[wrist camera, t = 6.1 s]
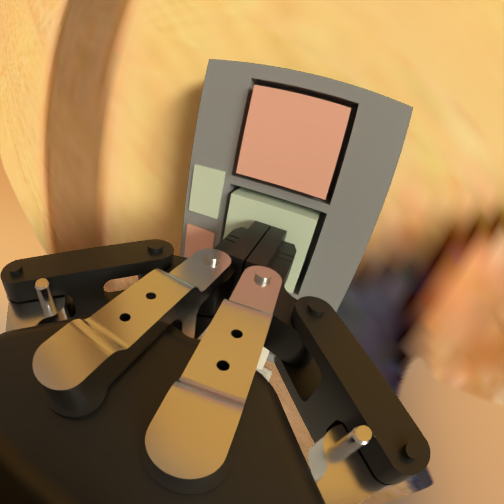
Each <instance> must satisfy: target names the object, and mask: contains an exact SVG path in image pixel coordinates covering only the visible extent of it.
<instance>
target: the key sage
mask: <svg viewBox="0 0 504 504" xmlns="http://www.w3.org/2000/svg"><path fill="white" fill-rule="evenodd" d="M319 215H320V211H318V210H315V209H312V208H309V207H306V206H303V205H300V204H297V203H294V202H290V201H287V200H284V199H281V198H278V197H274V196H271V195H268V194H265V193H261V192H258V191H255V190H251V189H248V188H244V187H240V188H239V189H237V190H236V191H234V192H233V193H231V198H230V203H229V209H228V214H227V220H226V226H225V231H224V237H223V239H224V238H225V237H226V236H227V235H228V234H229V233H230V232H231V231H232V230H233V229H236V228H239V227H244V228H247V229H248V228H249V227H250V226H251V225H252V224H253V223H254V222H255V221H259V222H262V223H265V224H268V225H271V226H274V227H277V228H280V229H283V230H286V231H287V234H286V238H285V241H286V242H289V243H291V244H294V245H295V248H296V250H297V252H296V255H295V258H294V261H293V264H292V267H291V270H290V273H289V276H288V279H287V281H286V284H285V286H284V287H285V289H286V291H287V292H290V293H293V291H294V288H295V285H296V283H297V280H298V277H299V274H300V271H301V269H302V266H303V263H304V260H305V257H306V254H307V251H308V248H309V245H310V242H311V239H312V236H313V233H314V230H315V227H316V224H317V221H318V218H319Z"/></svg>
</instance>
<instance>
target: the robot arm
mask: <svg viewBox="0 0 504 504" xmlns="http://www.w3.org/2000/svg"><path fill="white" fill-rule="evenodd" d="M286 234H287V231H286V230H283V229H280V228H277V227H274V226H271V225H268V224H265V223H262V222H259V221H255V222H254V223H253V224H252V225H251V226H250V227H249V228H248V229H247V228H244V227H239V228H236V229H233V230H232V231H231V232H230V233H229V234H228V235H227V236H226V237H225V238H224V239H223V240H222V241H221V242H220V243H219V244H218V245H217V246H216V247H215V248H214V249H202V250H199V251H197V252H196V253H194V254H193V255H192V256H190V257H189V258H186V257H180V256H174V255H173V252H174V249H173V246H172V245H171V244H170V243H168V242H166V241H163V240H145V241H138V242H130V243H123V244H116V245H109V246H102V247H95V248H88V249H82V250H75V251H69V252H62V253H56V254H50V255H44V256H38V257H32V258H26V259H20V260H15V261H13V262H11V263H9V264H8V265H6V266H5V267H4V268H3V270H2V272H1V280H2V282H3V285H4V288H5V291H6V293H7V298H8V301H9V305H8V314H7V324H6V332H4V333H2V334H0V504H358V503H360V502H361V501H363V500H365V499H366V498H368V497H370V496H371V495H373V494H375V493H377V492H379V491H382V490H384V489H387V488H389V487H391V486H393V485H396V484H398V483H400V482H402V481H404V480H406V479H408V478H410V477H412V476H414V475H416V474H418V473H420V472H422V471H423V470H424V469H425V468H426V466H427V465H428V462H429V459H430V448H429V445H428V442H427V440H426V439H425V438H424V436H423V434H422V433H421V431H420V430H419V428H418V427H417V426H416V424H415V422H414V421H413V419H412V418H411V416H410V415H409V413H408V412H407V411H406V409H405V408H404V406H403V405H402V403H401V402H400V400H399V399H398V397H397V396H396V395H395V393H394V392H393V390H392V389H391V387H390V386H389V385H388V383H387V382H386V380H385V379H384V378H383V376H382V375H381V373H380V372H379V370H378V369H377V368H376V366H375V365H374V363H373V362H372V361H371V359H370V358H369V357H368V355H367V354H366V352H365V351H364V350H363V348H362V347H361V346H360V344H359V343H358V341H357V340H356V339H355V337H354V336H353V335H352V333H351V332H350V331H349V329H348V328H347V326H346V325H345V324H344V322H343V321H342V320H341V318H340V317H339V316H338V314H337V313H336V312H335V310H334V309H333V308H332V307H331V305H330V304H328V303H327V302H326V301H324V300H322V299H320V298H317V297H313V296H305V297H301V298H299V299H298V300H297V299H296V298H294V297H293V296H291V295H290V294H289V293H288V292H287V291H286V289H285V287H284V286H285V284H286V281H287V279H288V276H289V273H290V270H291V267H292V264H293V261H294V258H295V255H296V252H297V250H296V248H295V245H294V244H291V243H289V242H286V241H285V238H286ZM135 275H138V279H139V281H137V282H136V283H134V284H133V285H132V286H130V287H129V288H128V289H126V290H121V291H115V292H105V291H104V289H103V287H104V284H105V283H106V282H107V281H109V280H111V279H117V278H123V277H129V276H135ZM263 347H265V348H266V349H267V350H269V351H270V352H272V353H273V354H274V362H275V365H276V367H277V369H278V371H279V373H280V375H281V377H282V379H283V381H284V383H285V385H286V387H287V389H288V391H289V393H290V395H291V397H292V399H293V401H294V403H295V405H296V407H297V409H298V411H299V413H300V415H301V417H302V419H303V421H304V423H305V425H306V427H307V429H308V431H309V433H310V435H311V437H312V439H313V441H314V443H315V444H314V445H313V446H312V447H311V449H310V451H309V454H308V461H309V464H310V468H311V470H310V469H309V466H308V464H307V462H306V460H305V458H304V455H303V453H302V451H301V449H300V446H299V444H298V442H297V440H296V437H295V435H294V433H293V430H292V428H291V426H290V423H289V421H288V419H287V416H286V414H285V412H284V409H283V407H282V405H281V402H280V400H279V398H278V396H277V393H276V392H275V390H274V388H273V387H272V385H271V384H270V383H269V382H268V380H267V379H266V378H265V377H264V376H263V375H262V374H261V373H259V372H258V371H257V370H256V368H257V365H258V361H259V358H260V355H261V352H262V349H263Z"/></svg>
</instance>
